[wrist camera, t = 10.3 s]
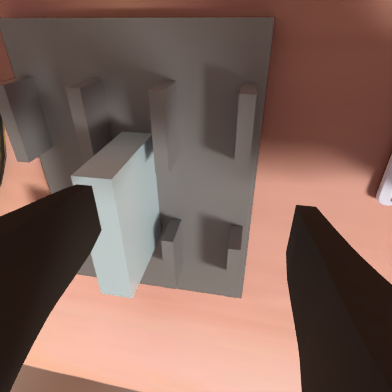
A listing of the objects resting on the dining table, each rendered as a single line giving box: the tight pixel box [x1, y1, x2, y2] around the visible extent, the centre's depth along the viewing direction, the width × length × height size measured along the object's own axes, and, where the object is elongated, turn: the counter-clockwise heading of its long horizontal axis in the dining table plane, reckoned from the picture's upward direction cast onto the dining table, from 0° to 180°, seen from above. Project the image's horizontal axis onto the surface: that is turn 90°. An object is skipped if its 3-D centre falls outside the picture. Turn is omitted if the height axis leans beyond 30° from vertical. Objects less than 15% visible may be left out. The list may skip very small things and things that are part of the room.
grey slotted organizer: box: [0, 17, 275, 298], centre depth 20 cm, size 15×20×4 cm
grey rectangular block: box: [71, 132, 161, 298], centre depth 18 cm, size 2×8×6 cm, turn 0°
